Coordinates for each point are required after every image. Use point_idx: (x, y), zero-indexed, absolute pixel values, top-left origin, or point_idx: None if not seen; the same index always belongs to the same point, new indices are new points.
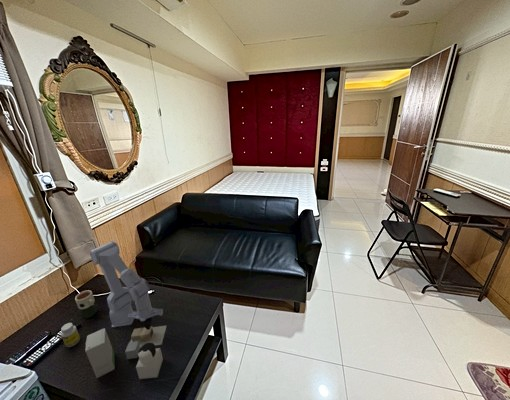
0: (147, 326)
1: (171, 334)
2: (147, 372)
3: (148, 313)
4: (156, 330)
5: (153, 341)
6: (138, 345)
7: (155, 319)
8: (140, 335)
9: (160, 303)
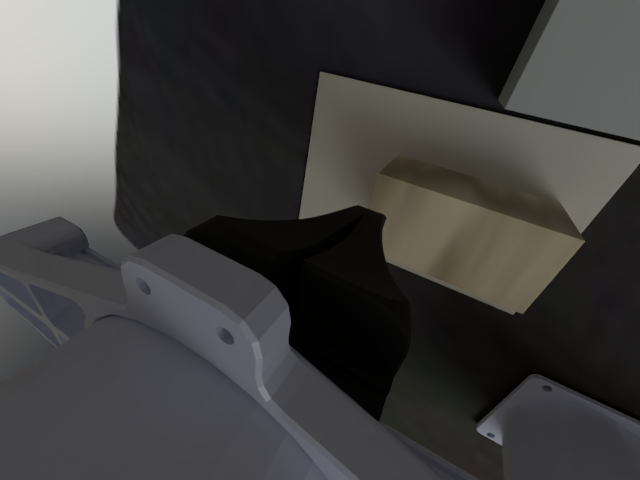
0: (346, 221)
1: (267, 139)
2: None
3: (8, 382)
4: None
5: (379, 131)
6: (513, 81)
7: None
8: (469, 202)
9: None
